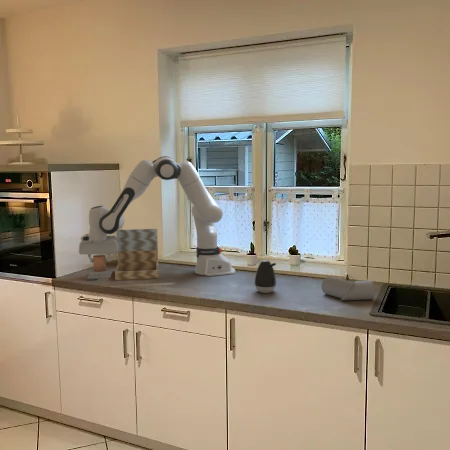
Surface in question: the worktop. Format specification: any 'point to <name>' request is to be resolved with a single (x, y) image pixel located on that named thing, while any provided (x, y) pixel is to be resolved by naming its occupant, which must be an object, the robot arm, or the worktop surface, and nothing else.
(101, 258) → the terracotta pot
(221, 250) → the robot arm
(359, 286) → the bent grey cylinder
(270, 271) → the pump dispenser
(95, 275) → the slate tile
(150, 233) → the brown patterned open box
